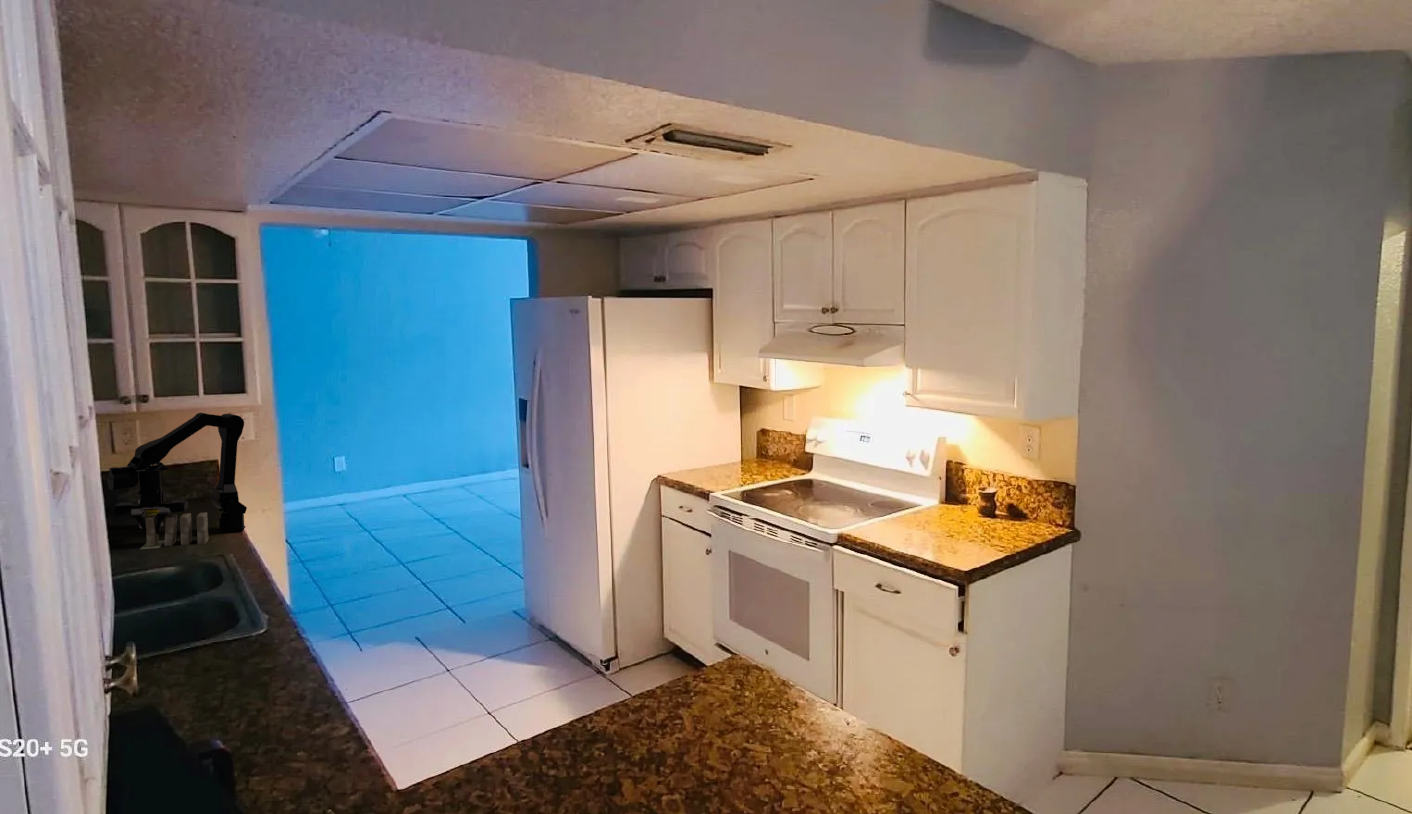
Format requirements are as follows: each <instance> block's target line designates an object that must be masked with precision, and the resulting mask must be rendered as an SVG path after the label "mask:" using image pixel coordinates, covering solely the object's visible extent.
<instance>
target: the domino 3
mask: <svg viewBox="0 0 1412 814" xmlns="http://www.w3.org/2000/svg"><path fill="white" fill-rule="evenodd" d="M208 521H209V520H208V512H199V513H198V514H197V516H196V531H197V545H205V544H206V543H207V542H208V540H209V525H208V524H209V522H208Z"/></svg>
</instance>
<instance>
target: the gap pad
mask: <svg viewBox="0 0 1412 814" xmlns="http://www.w3.org/2000/svg"><path fill="white" fill-rule="evenodd" d="M164 543H165V540H159V543H158V544H157V545H156V546H155V547H147V542H145V543H144V544H143V545H142V546H141V547H140V548H139V550H149V549H151V550H152V549H160V548H161V547H162V546H163V545H164Z"/></svg>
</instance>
